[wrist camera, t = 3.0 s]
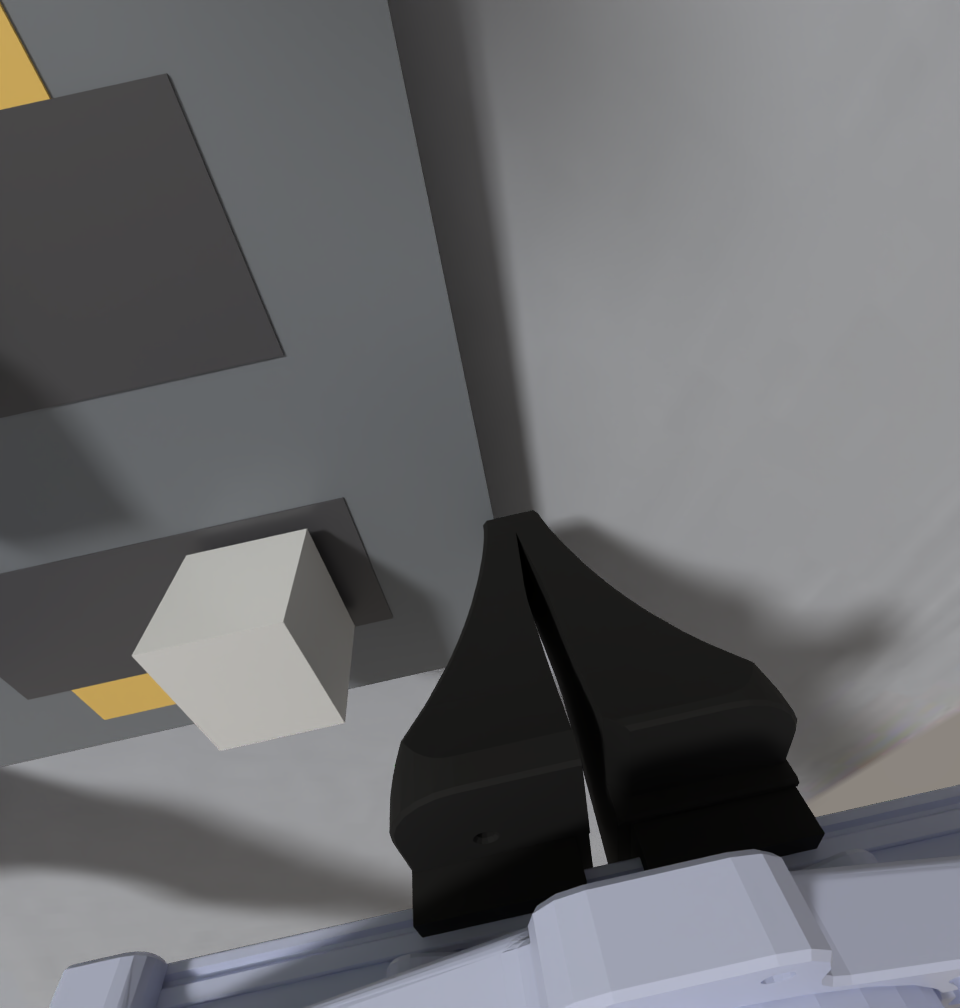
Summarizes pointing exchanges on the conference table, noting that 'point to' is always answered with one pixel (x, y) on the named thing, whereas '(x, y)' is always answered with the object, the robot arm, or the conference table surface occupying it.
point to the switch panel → (216, 343)
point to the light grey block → (253, 641)
